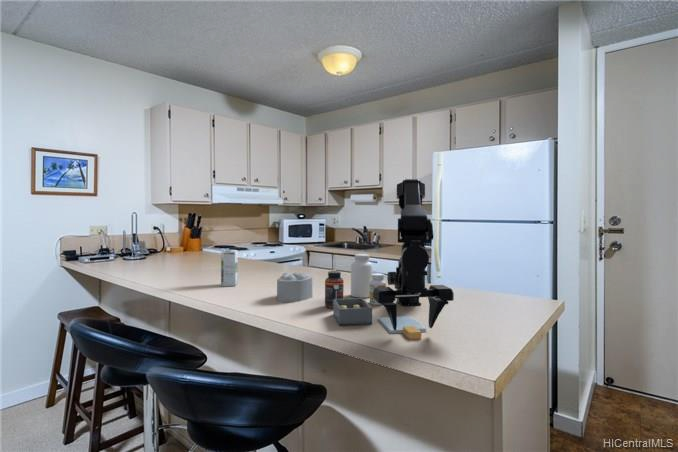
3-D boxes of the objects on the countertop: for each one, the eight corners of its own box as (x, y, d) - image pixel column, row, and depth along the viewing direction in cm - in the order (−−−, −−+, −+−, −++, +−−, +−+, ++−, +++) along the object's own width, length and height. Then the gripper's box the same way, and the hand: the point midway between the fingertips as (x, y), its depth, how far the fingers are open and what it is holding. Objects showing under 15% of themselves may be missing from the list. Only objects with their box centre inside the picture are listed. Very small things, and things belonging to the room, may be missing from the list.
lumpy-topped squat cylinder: (316, 296, 128) (316, 272, 128) (291, 304, 118) (291, 278, 117) (295, 292, 134) (295, 269, 134) (269, 299, 124) (269, 274, 123)
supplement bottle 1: (341, 309, 111) (341, 273, 110) (323, 308, 112) (322, 272, 112) (345, 304, 117) (345, 270, 116) (327, 303, 118) (327, 269, 117)
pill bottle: (376, 294, 130) (376, 254, 130) (366, 299, 124) (366, 256, 123) (357, 292, 135) (357, 252, 134) (346, 296, 128) (346, 255, 127)
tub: (362, 312, 107) (363, 298, 107) (372, 324, 96) (372, 307, 96) (333, 314, 106) (333, 299, 106) (339, 326, 95) (339, 309, 95)
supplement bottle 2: (387, 301, 120) (387, 273, 120) (384, 305, 115) (384, 276, 115) (371, 300, 122) (371, 272, 122) (367, 304, 117) (368, 275, 117)
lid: (410, 318, 102) (410, 313, 102) (433, 337, 86) (433, 331, 86) (378, 320, 100) (378, 314, 100) (396, 340, 85) (396, 333, 85)
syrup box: (223, 283, 150) (223, 249, 150) (238, 283, 151) (237, 249, 150) (220, 286, 145) (220, 251, 144) (235, 286, 145) (235, 251, 145)
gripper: (435, 260, 96) (434, 317, 96) (367, 261, 93) (367, 320, 93) (455, 266, 85) (454, 330, 85) (379, 268, 82) (379, 335, 82)
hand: (412, 328), depth 87 cm, fingers open, 9 cm apart
